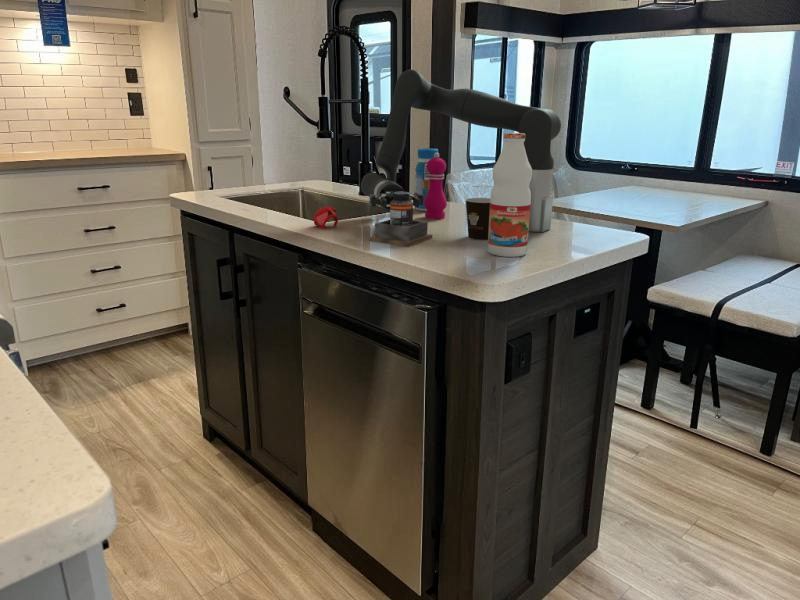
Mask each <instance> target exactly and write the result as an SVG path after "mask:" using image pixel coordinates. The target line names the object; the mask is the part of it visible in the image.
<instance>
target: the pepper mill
mask: <svg viewBox="0 0 800 600" xmlns="http://www.w3.org/2000/svg"><path fill="white" fill-rule="evenodd" d="M446 169H447V163H446V161H445V160H444V159H443V158H441V157H440V153H439V152H438V153H435V154H434V158H432V159H430V160H429V161H428V163H427V170H428V172H429V174H428V179H429V182H430V184H429V190H428V193H427V195H426V197H425V200H424V207H425V208H426V209H427V211H424V218H425V219H428V220H429V219H430V220H442V219H445V217H446V212H445V209H446V208H447V206H448V204H447V203H448V201H447V198H446V195H445V192H444V190H443V180H444V179H445V174H444V172H445V171H446Z"/></svg>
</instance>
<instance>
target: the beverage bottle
mask: <svg viewBox="0 0 800 600" xmlns="http://www.w3.org/2000/svg"><path fill="white" fill-rule="evenodd" d="M435 153H439V149H438V148H430V147H429V148H428V147H425V148H424V147H423V148H422V147H421V148H420V147H419V148H418V149H417V160H418V161H417V164H416V166H415V169H414V171H415V176H414V193H419V194H421V195H423V196H424V198H423V205H420V206H419V207H415V206H414V210H416V211H419V212H421V211H422V212H426V211H427V209H426V208H425V207H424V200H425V197H426V195H427V193H428V190H429V184H430V182H429V179H428V174H429V172H428V170H427V163H428V161H429V160H430V159H432V158H434V154H435Z"/></svg>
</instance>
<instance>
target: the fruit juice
mask: <svg viewBox="0 0 800 600" xmlns="http://www.w3.org/2000/svg"><path fill="white" fill-rule="evenodd" d="M525 138H526V136H525V134H524V133H519V132H504V133H503V141H504V144H503V146H502V149H501V151H500V154H499V157H498V159H497V161H496V163H495V164H494V166H493V168H492V172H491V173H492V180H493V187H492V189H491V192H490V215H489V233H488V240H487V251H488V254H490V255H492V256H493V255H494V256H497V257H505V258H513V257H514V258H516V257H522V256H524V255H526V254H527V252H528V243H529V231H528V230H529V217H530V204H531V192H530V189H529V183H530V181H531V178H532V168H531V166H530V164H529V161H528V158H527V155H526V151H525V147H524V141H525Z"/></svg>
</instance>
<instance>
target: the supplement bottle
mask: <svg viewBox="0 0 800 600" xmlns="http://www.w3.org/2000/svg"><path fill="white" fill-rule="evenodd" d="M409 193H410V192H409V191H404V192H394V199H393V200H392V201H391V203H390V210H389V220H390V225H396V226H403V227H408V226H411V225H413V220H414V206H413V200H411V201H410V200H409Z"/></svg>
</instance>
